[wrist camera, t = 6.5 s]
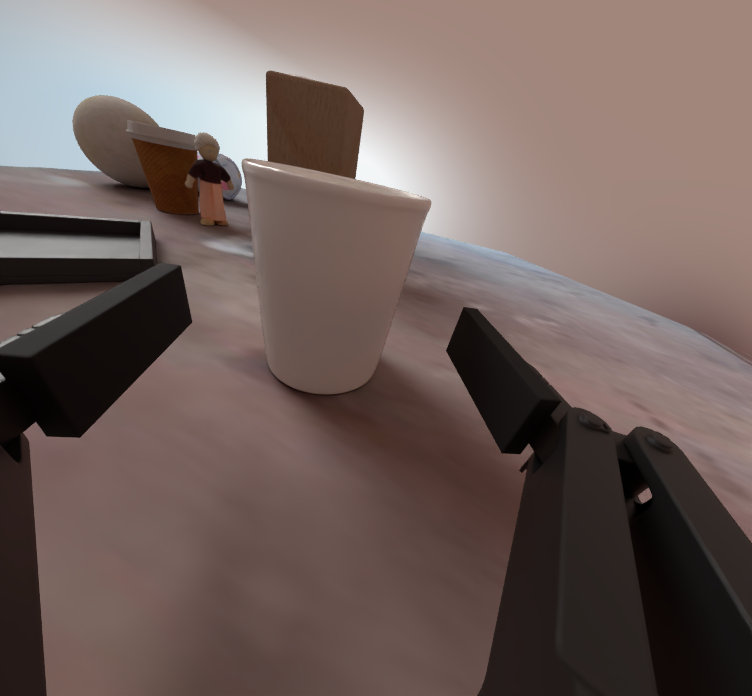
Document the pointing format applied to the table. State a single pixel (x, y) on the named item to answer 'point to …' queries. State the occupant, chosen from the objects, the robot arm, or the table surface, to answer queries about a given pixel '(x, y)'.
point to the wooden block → (312, 124)
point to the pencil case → (233, 173)
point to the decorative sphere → (111, 137)
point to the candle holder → (327, 270)
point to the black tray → (73, 248)
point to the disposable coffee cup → (167, 166)
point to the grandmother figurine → (209, 180)
